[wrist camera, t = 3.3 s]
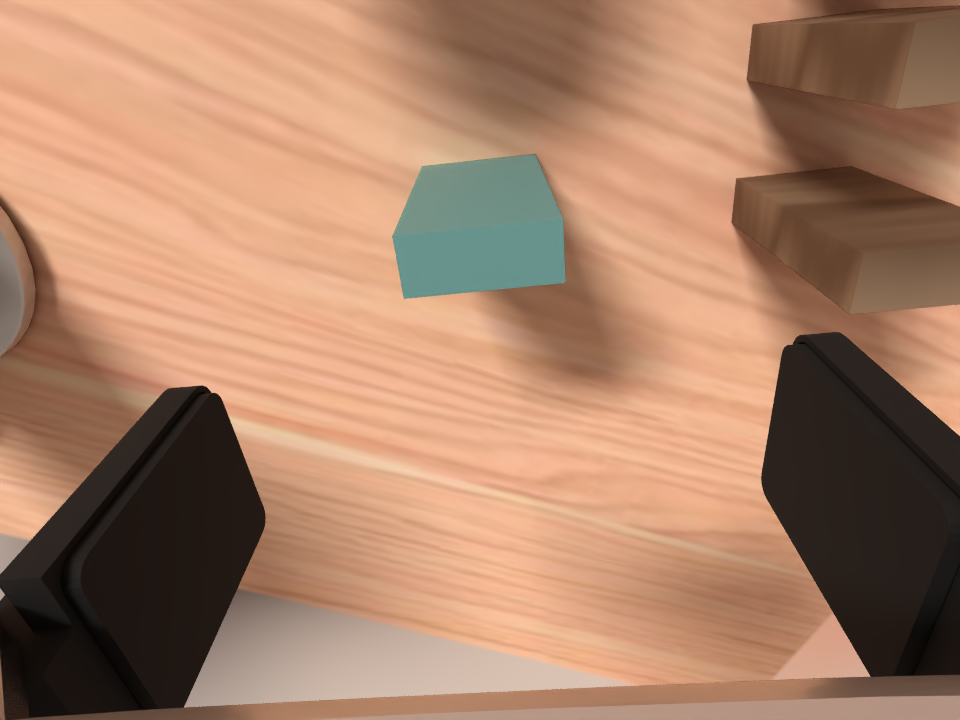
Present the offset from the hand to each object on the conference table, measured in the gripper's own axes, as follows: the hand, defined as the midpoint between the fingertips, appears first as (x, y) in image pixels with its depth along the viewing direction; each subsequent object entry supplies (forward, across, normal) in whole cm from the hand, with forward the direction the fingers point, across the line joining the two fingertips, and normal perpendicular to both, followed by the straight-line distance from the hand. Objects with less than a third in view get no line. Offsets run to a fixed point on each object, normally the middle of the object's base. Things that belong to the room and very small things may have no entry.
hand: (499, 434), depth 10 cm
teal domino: (+19, +1, 0) cm, 19 cm away
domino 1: (+19, -13, -4) cm, 23 cm away
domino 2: (+19, -13, +2) cm, 23 cm away
